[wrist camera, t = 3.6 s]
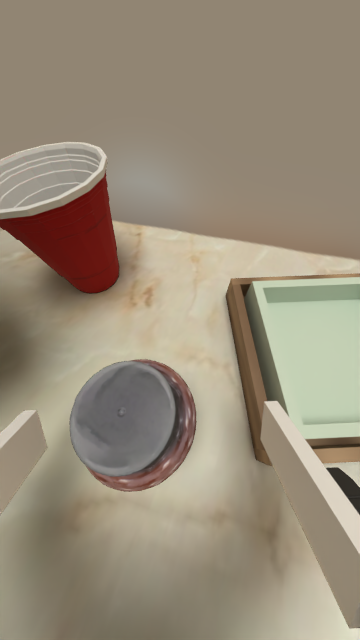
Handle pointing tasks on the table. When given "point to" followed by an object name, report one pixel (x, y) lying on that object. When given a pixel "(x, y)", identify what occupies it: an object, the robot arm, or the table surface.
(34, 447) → the robot arm
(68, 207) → the plastic cup
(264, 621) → the table surface
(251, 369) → the walnut crate
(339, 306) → the grey-green crate
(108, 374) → the supplement bottle
